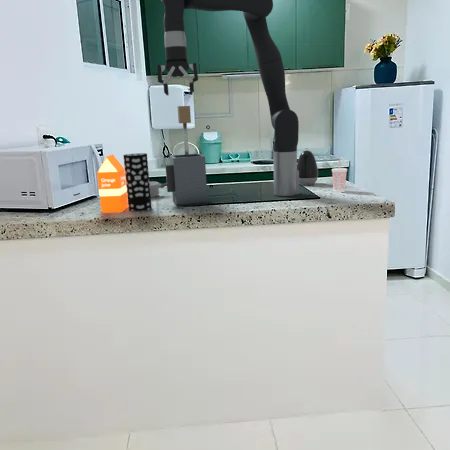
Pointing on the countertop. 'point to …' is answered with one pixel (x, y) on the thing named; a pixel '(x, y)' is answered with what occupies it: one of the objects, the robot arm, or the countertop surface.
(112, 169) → the orange juice
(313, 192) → the countertop surface
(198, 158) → the tall grey box
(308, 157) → the dark grey egg shape
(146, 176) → the spotted tube
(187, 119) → the plunger
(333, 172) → the beverage cup
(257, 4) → the robot arm
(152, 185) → the saucepan
